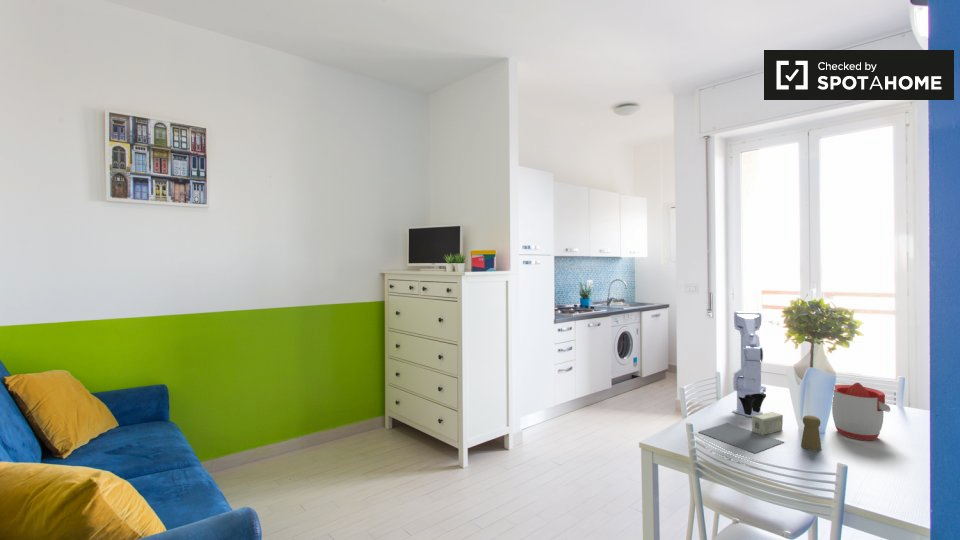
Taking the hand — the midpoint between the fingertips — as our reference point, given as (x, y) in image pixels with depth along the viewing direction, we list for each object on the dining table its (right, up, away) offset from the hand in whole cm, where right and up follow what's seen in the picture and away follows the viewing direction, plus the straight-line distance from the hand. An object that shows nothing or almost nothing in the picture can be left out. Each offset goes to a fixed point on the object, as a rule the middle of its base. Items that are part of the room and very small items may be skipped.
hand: (751, 412), depth 180 cm
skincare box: (+1, -4, -1) cm, 5 cm away
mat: (-6, -8, -3) cm, 11 cm away
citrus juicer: (+38, -8, -3) cm, 39 cm away
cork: (+14, -9, -13) cm, 20 cm away
